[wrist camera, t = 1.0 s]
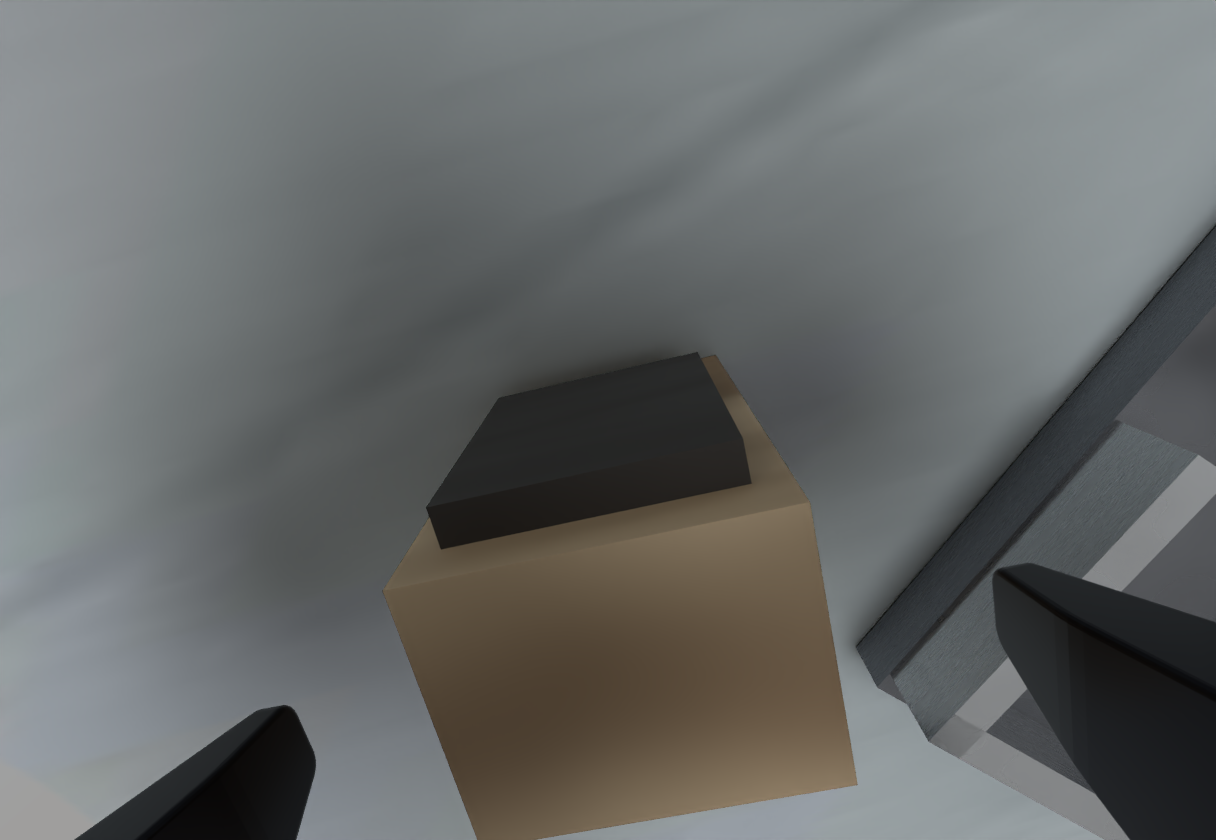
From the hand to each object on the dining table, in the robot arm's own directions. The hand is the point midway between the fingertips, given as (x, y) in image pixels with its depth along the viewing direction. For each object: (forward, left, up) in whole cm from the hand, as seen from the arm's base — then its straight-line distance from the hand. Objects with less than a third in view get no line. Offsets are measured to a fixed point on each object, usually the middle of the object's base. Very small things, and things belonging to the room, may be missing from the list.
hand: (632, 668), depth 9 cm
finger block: (0, 0, -8) cm, 8 cm away
